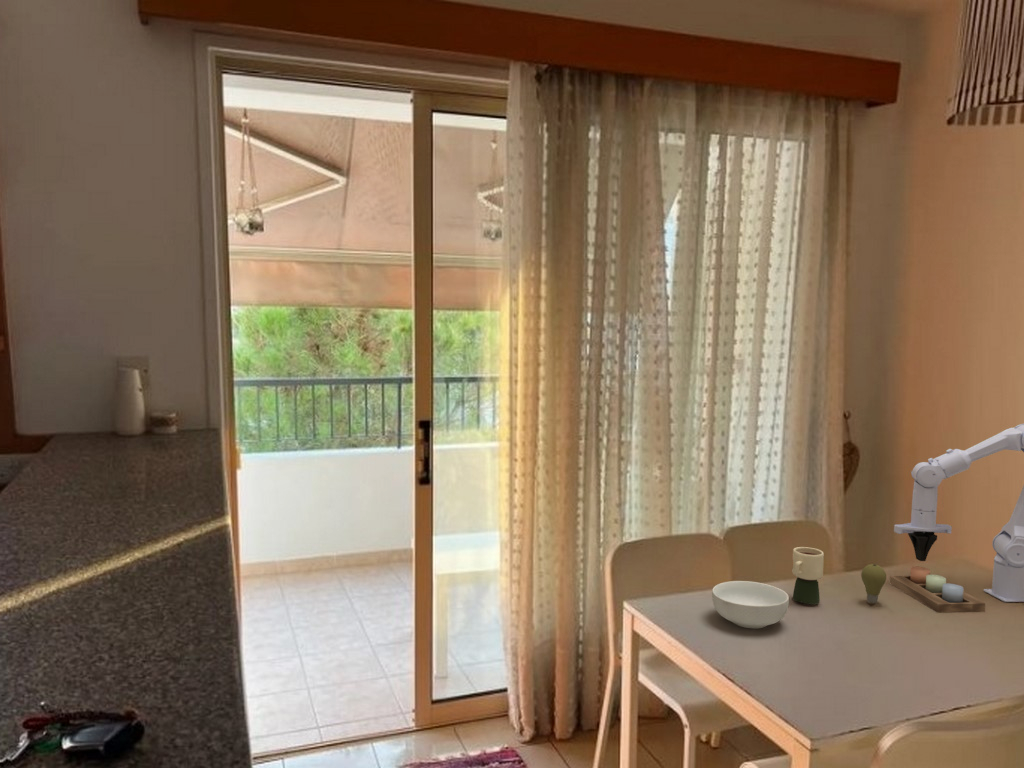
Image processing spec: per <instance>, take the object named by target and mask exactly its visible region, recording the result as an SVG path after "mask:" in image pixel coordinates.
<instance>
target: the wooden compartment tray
mask: <svg viewBox="0 0 1024 768" xmlns="http://www.w3.org/2000/svg"><path fill="white" fill-rule="evenodd" d="M910 576H911V575H890V576H889V584H890V583H891V584H890V585H892V586H893V587H895V586H896V588H897V589H898V588H899V590H900V589H901V590H900V591H902V592H903V591H904V593H905V594H907V595H908V594H909V595H908V596H910V597H912V598H913V599H915V600H917V601H918V602H920V603H921V602H922V603H921V604H922V605H925V606H926V605H927V606H926V607H929V608H930V609H931V610H933V611H935V612H936V613H967V612H968V613H969V612H972V613H973V612H976V613H977V612H985V611H986V603H985V602H984V601H982V600H980V599H979V598H977V597H975V596H973V595H971V594H969V593H967V592H965V591H963V602H962V603H949V602H947V601H945V600H943V599H942V593H931V592H929V591H928V590H926V584H915V583H914V582H912V581H910ZM946 583H948V582H947V581H946Z"/></svg>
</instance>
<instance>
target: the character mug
mask: <svg viewBox="0 0 1024 768" xmlns="http://www.w3.org/2000/svg"><path fill="white" fill-rule="evenodd" d="M824 553H825V552H824V551H823V550H821V549H819V548H814V547H806V546H799V547H798V546H797V547H794V548H793V549H792V562H793V565H792V569H791V570H792V571H791V572H792V574H793V575H794V576H795V577H796V580H795V582H794V588H793V593H792V600H793V601H794V602H799V603H801V604H802V605H803V604H809V605H817V604H820V598H821V597H820V587H819V581H818V580H821V579H823V576H824V560H825V558H824V557H825V555H824Z"/></svg>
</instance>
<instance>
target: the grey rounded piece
mask: <svg viewBox="0 0 1024 768" xmlns="http://www.w3.org/2000/svg"><path fill="white" fill-rule="evenodd" d="M963 592H964V587H963V586H962V585H960V584H956V583H950V582H949V583H948V582H947V583H946V584H943V589H942V599H943V600H945V601H947V602H948V603H962V602H963Z"/></svg>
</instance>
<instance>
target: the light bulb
mask: <svg viewBox="0 0 1024 768" xmlns="http://www.w3.org/2000/svg"><path fill="white" fill-rule="evenodd" d="M860 575H861V580H862V582H863V585H864V588H865V592H866V601H867V602H868V603H869V605H872V606H874V605H875V604H876V603H878V602H879V601H878V599H879V598H878V597H879V595H880V593H881V590H882V588H883V587H884V585H885V583H886V581H887V573H886V571H885V569H884V568H883V567H882V566H880V565H878V564H877V563H876V564H875V563H870V564H867V565H865V566H864V567H863V568H862V569H861V573H860Z"/></svg>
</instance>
